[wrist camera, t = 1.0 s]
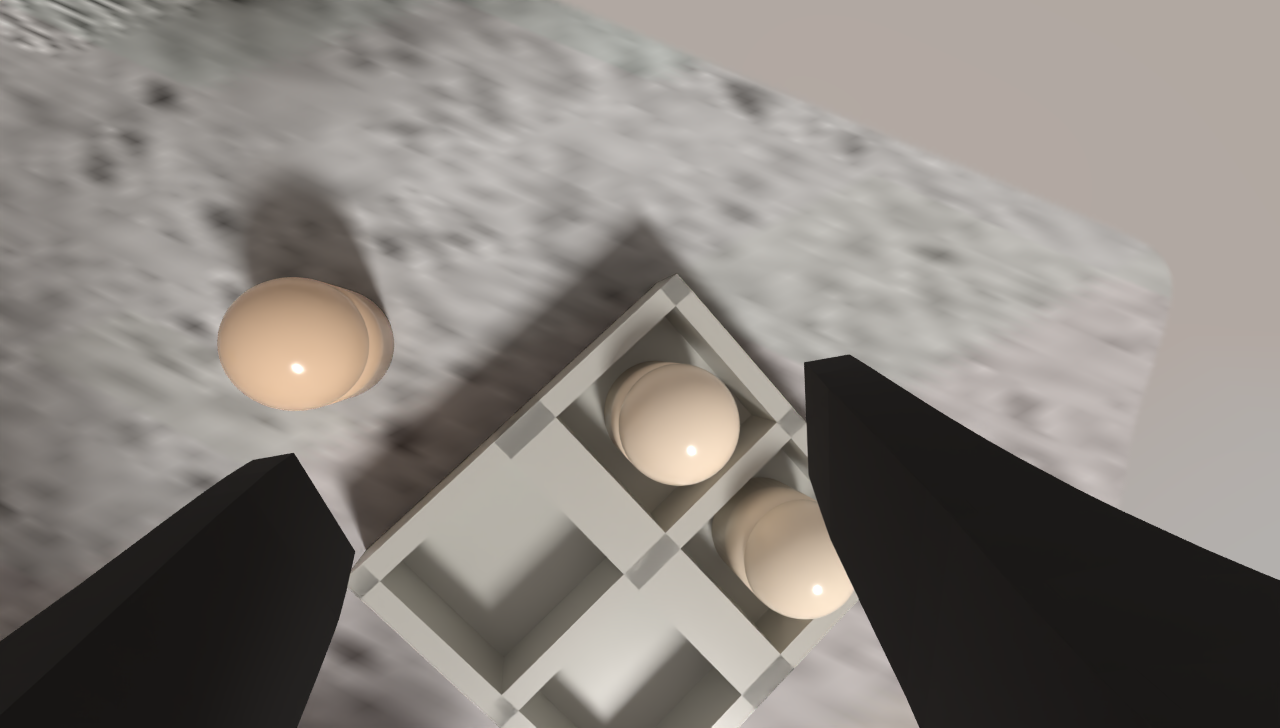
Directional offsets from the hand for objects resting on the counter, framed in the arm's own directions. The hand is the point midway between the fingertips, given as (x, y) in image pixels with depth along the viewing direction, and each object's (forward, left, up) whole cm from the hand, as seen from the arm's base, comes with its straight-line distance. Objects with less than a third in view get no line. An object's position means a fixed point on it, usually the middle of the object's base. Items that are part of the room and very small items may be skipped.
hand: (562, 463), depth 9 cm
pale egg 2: (+3, -10, -14) cm, 18 cm away
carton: (-1, -7, -15) cm, 16 cm away
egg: (-4, +6, -15) cm, 17 cm away
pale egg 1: (+3, -4, -14) cm, 15 cm away
